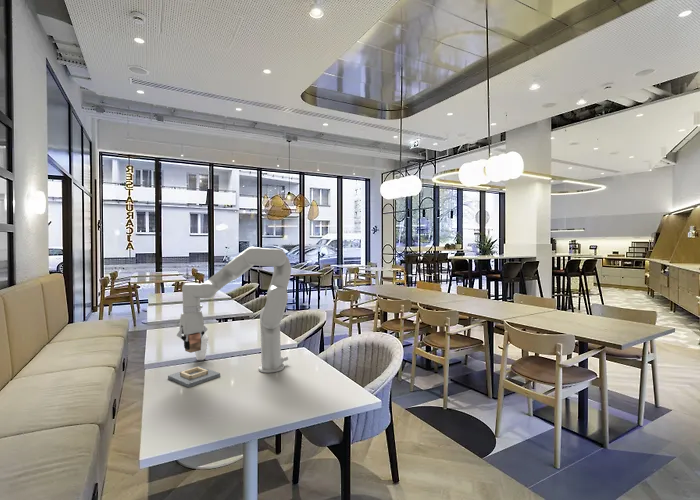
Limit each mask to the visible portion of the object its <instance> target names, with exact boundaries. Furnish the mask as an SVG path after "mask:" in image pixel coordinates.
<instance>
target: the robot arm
mask: <svg viewBox="0 0 700 500" xmlns="http://www.w3.org/2000/svg"><path fill="white" fill-rule="evenodd" d="M254 266H259V267H273V273H272V276H271V280H270V284H269V286H268V289H267V293H266V302H265V305H264V307H262V309H261V310H260V313H259V325H260V355H261V359H260V360H261V364H260V365H259V366H258V369H257V370H258V371H259V372H261V373H266V374H267V373H269V374H271V373H277V372H280V371H282V370H284V369H285V364H284V362H286V361H288V360H289V357H288V356H283V357H282V351H281V350H282V349H281V347H282V345H281V322H282V320H283V317H284V314H285V310H286V308H287V307H286V306H287V304H288V299H289V294H288V291H287V290H288V286H289V282H290V278H291V275H292V274H291V273H292V266H291V262H290V259H289V258H288V256H287V254H286V252H285V251H284V250H282V249H280V248H267V247H265V248H264V247H256V246H249V247H247V248H245V249H244V250H243V251H242V252H240V253H239V254H238V255H237V256H235V257H234V258H233V259H231V260H230V261H228V263H226V264H225V265H224V266H223V267H222V268H221V269H220V270H218V271H217V272H216V273H215V274H213V275H212V276H210V277H209V278H208V279H207V280H206V281H204V282H203V283H198V282H187V283H183V284H182V287H181V290H182V291H181V292H182V313H181V314H180V319H179V330H178V332H177V334H176V337H178V338H179V339H181V340H182V341H183V347H184V350H185V349H187V350H189V349H190V347H189V341H188V339H189V335H190V334H195V333H200V339H201V338H202V336H203V335H204V333H205V334H206V332H207V331H208V328H207V327H206V325H205V323H204V315H203V312H202V311H201V309H203V307H204V306H203V305H201V299H203V300H204V299H207V300H209V299H212V298H214V297H215V296H216V294H217V293H218V292H219V291H220V290H221V289H223V288H224V287H225V286H227V285H228V284H229V283H231V282H233V281H235V280H237V279H238V278H240V277H241V276H242V275H244V274H245V273H246V272H248V271H249V270H250V269H251V268H252V267H254Z"/></svg>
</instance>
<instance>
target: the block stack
mask: <svg viewBox="0 0 700 500" xmlns="http://www.w3.org/2000/svg"><path fill="white" fill-rule="evenodd" d="M188 341H189V347H190V349H189V350H187V349H185V348H184V351H185V352H188V353H191V354H192V353H195V352H196V351H199V350H201V339H200V333H195V334H190V335H189V339H188Z"/></svg>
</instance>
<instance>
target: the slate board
mask: <svg viewBox="0 0 700 500" xmlns="http://www.w3.org/2000/svg"><path fill="white" fill-rule="evenodd" d="M167 377H168V378H167V379H168V380H170V381H172V382H175V383H177V384H179V385H182V386H184V387H186V388H191V387H193V386H197V385H200V384H202V383H205V382H208V381H211V380H213V379H217V378H220V377H221V373H220V372H217V371H215V370H212V369H209V368H207V367H203V366H201V365H198V366H195V367H191V368H188V369H185V370H182V371H177V372H175V373H172V374H169V375H167Z"/></svg>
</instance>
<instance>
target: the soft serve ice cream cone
mask: <svg viewBox="0 0 700 500" xmlns="http://www.w3.org/2000/svg"><path fill="white" fill-rule="evenodd" d="M208 341H209V336H208V335H207V334H206V332H205V333H204V335H203V336H202V338H201V350H199V351H196V352H194V355H195V358H196V360H197V361H203V360H205V359H206V354H207V350H208Z"/></svg>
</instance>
